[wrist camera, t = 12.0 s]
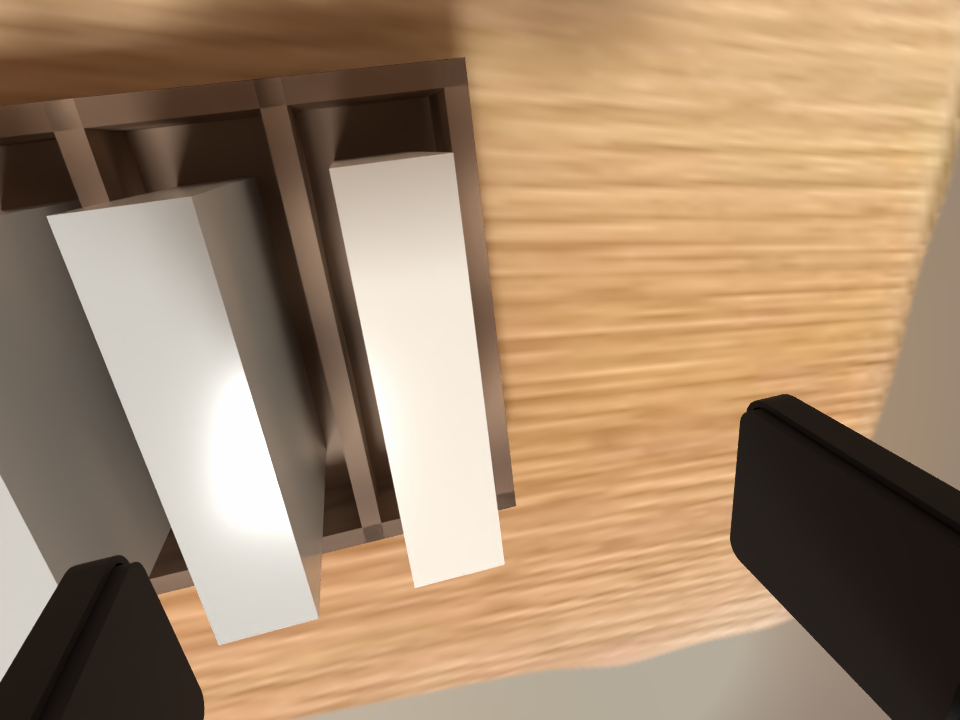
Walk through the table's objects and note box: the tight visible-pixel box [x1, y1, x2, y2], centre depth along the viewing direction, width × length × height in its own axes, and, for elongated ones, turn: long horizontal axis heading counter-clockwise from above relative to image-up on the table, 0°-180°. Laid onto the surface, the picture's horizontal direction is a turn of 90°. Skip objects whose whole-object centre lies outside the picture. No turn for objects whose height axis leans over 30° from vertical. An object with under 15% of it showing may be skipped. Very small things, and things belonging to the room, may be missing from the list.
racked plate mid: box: [46, 176, 327, 645], centre depth 18 cm, size 12×3×10 cm, turn 7°
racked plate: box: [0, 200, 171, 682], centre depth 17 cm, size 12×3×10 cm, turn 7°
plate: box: [329, 151, 504, 588], centre depth 19 cm, size 12×3×10 cm, turn 7°
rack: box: [0, 57, 516, 595], centre depth 22 cm, size 18×18×4 cm
